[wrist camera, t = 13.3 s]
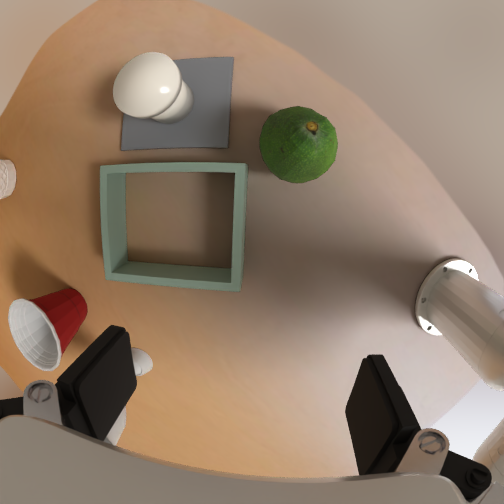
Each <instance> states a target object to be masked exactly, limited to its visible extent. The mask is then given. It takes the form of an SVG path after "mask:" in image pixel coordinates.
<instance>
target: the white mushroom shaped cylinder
mask: <svg viewBox="0 0 504 504" xmlns="http://www.w3.org/2000/svg"><path fill="white" fill-rule="evenodd" d="M113 98H114V101H115V104H116V106H117V107H118V108H119V109H120V110H121V111H122V112H123V113H125V114H128V115H130V116H133V117H136V118H140V119H147V118H152V119H154V120H156V121H158V122H160V123H163V124H174V123H177V122H180V121H181V120H183V119H184V118H186V117H187V116H188V114H189V113H190V112H191V110H192V108H193V105H194V94H193V91H192V90H191V88H190V87H189V86H188V85H187V84H186V83H185V82H184V81H183V80H182V75H181V72H180V69H179V68H178V66H177V65H176V64H175V63H174V62H173V61H172V60H171V58H169V57H168V56H166V55H165V54H162V53H158V52H148V53H144V54H141V55H138V56H136V57H134V58H133V59H131V60H130V61H129V62H128V63H126V64H125V65H124V66H123V68H122V69H121V70H120V72H119V73H118V75H117V77H116V79H115V82H114V86H113Z"/></svg>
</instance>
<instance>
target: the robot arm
mask: <svg viewBox="0 0 504 504" xmlns="http://www.w3.org/2000/svg"><path fill="white" fill-rule="evenodd" d="M415 314H416V318H417V321H418V323H419V325H420V326H421V327H422V329H423V330H424V331H425V332H427V333H429V334H431V335H443V336H444V337H445V338H446V339H447V340H448V342H449V343H450V344H451V345H452V346H453V347H454V348H455V349H456V350H457V351H458V353H459V354H460V355H461V356H462V357H463V358H464V359H465V360H466V361H467V363H468V364H469V365H470V366H471V367H472V368H473V369H474V371H475V372H476V373H477V374H478V375H479V376H480V377H481V379H482V380H483V381H484V382H485V383H486V384H487V385H488V386H489V387H491V388H493V389H495V390H499V391H504V297H503V296H502V295H500V294H499V293H497V292H496V291H494V290H493V289H491V288H489V287H488V286H486V285H485V284H483V283H482V282H480V281H478V276H477V273H476V271H475V269H474V267H473V266H472V265H471V264H470V263H468V262H466V261H465V260H462V259H457V258H454V259H449V260H446V261H444V262H442V263H440V264H439V265H437V266H436V267H435V268H434V269H433V270H432V271H431V272H430V273H429V274H428V276H427V277H426V278H425V280H424V282H423V283H422V285H421V287H420V290H419V292H418V295H417V299H416V305H415ZM57 381H58V382H57V383H56V384H55V385H54V384H53V383H51V382H50V381H46V380H38V381H34V382H32V383H30V384H29V385H28V386H27V387H26V388H25V390H24V395H23V397H18V398H11V399H5V400H0V504H504V418H503V419H502V421H501V422H500V423H499V424H498V426H497V427H496V428H495V429H494V430H493V432H492V433H491V434H490V435H489V436H488V438H486V440H485V441H484V442H483V443H482V444H481V446H480V447H479V448H478V450H477V451H476V453H475V455H474V457H473V460H471V459H468V458H466V457H463V456H461V455H458V454H456V453H454V452H452V451H449V440H448V438H447V437H446V436H445V435H444V434H443V433H442V432H440V431H439V430H436V429H432V428H426V429H423V430H421V428H420V426H419V423H418V421H417V419H416V417H415V415H414V413H413V411H412V409H411V407H410V405H409V403H408V401H407V399H406V396H405V394H404V392H403V390H402V389H401V387H400V386H399V385H398V383H397V381H396V379H395V377H394V375H393V373H392V371H391V369H390V367H389V365H388V363H387V362H386V360H385V358H384V356H383V355H368V356H367V358H364V359H363V360H362V363H361V366H360V369H359V372H358V375H357V378H356V381H355V383H354V386H353V389H352V392H351V395H350V397H349V400H348V402H347V405H346V410H345V413H346V418H347V422H348V426H349V431H350V435H351V439H352V444H353V448H354V453H355V457H356V462H357V467H358V472H359V476H346V477H324V478H285V477H266V476H254V475H243V474H235V473H227V472H220V471H214V470H207V469H202V468H196V467H191V466H186V465H182V464H177V463H173V462H169V461H165V460H161V459H157V458H153V457H150V456H146V455H143V454H139V453H136V452H133V451H130V450H126V449H123V448H120V447H118V446H115V445H112V444H109V443H106V442H103V441H104V440H105V438H106V437H107V435H108V433H109V432H110V430H111V428H112V427H113V425H114V423H115V422H116V420H117V418H118V417H119V415H120V413H121V412H122V410H123V409H124V407H125V405H126V404H127V402H128V400H129V399H130V397H131V395H132V394H133V392H134V391H135V389H136V386H137V380H136V374H135V369H134V363H133V357H132V351H131V344H130V337H129V333H128V332H126V330H125V328H123V327H119V326H114V325H111V326H109V327H108V328H107V329H106V330H105V331H104V332H103V333H102V334H101V335H100V336H99V337H98V338H97V339H96V340H95V341H94V342H93V343H92V344H91V345H90V346H89V347H88V348H87V349H86V350H85V351H84V352H83V353H82V354H81V355H80V356H79V357H78V358H77V359H76V360H75V361H74V362H73V363H72V364H71V365H70V366H69V367H68V368H67V370H66V371H65V372H64V373H63V374H62V375H61V376H60V377H59V378H58V379H57Z"/></svg>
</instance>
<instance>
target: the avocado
mask: <svg viewBox="0 0 504 504" xmlns="http://www.w3.org/2000/svg"><path fill="white" fill-rule="evenodd" d="M259 145H260V151H261V154H262V157H263V161H264V162H265V164H266V165H267V167H268V168H269V170H270V171H271V172H272V173H273V174H275V175H276V176H277V177H278V178H279V179H281V180H285V181H288V182H291V183H304V182H307V181H310V180H313V179H317V178H318V177H319V176H321V175H322V174H323V173H325V172H326V171H327V170H328V169H329V168H330V166H331V165H332V164H333V162H334V161H335V157H336V152H337V147H338V143H337V136H336V131H335V128H334V127H333V125H332V124H331V123H330V122H329V120H328V119H327V118H326V117H324V116H322V115H320V114H319V113H317V112H315V111H314V110H312V109H309V108H305V107H300V106H296V107H290V108H286V109H282V110H279V111H278V112H276V113H274V114H272V115H270V116H269V118H268V119H267V121H266V122H265V124H264V125H263V128H262V132H261V136H260V144H259Z"/></svg>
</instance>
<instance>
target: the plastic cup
mask: <svg viewBox="0 0 504 504" xmlns="http://www.w3.org/2000/svg"><path fill="white" fill-rule="evenodd" d="M87 312H88V311H87V304H86V302H85V299H84V298H83V297H82V295H81V294H80V293H79V292H77V291H76V290H74V289H71V288H69V289H64V290H61V291H58V292H54V293H51V294H48V295H45V296H42V297H39V298H36V299H32V300H31V299H30V300H27V299H24V298H22V299H18V300H14V301H13V303H12V304H11V306H10V307H9V316H8V320H9V326H10V331H11V334H12V336H13V338H14V341H15V343H16V345H17V347H18V348H19V350H20V351H21V352H22V354H23V355H24V357H25V358H26V359H27V360H28V361H30V362H31V363H32V364H33V365H34V366H36V367H38V368H39V369H41V370H43V371H53V370H54V369H55V368H56V367H58V366H59V364H60V359H61V357H62V355H63V353H64V351H65V349H66V347H67V346H68V344H69V343H70V341H71V340H72V338H73V337H74V335H75V334H76V332H77V331H78V329H79V327H80V325H81V324H82V322H83V321H84V320H85V317H86V315H87Z"/></svg>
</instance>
